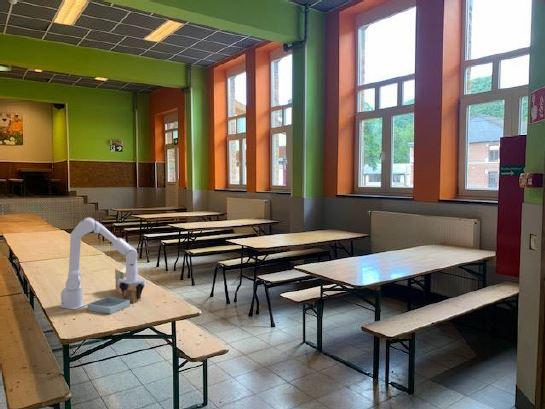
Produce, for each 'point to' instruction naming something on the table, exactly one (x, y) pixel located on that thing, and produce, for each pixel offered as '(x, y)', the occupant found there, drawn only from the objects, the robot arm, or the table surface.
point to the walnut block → (131, 295)
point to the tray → (108, 305)
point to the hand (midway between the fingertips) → (132, 298)
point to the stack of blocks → (121, 274)
